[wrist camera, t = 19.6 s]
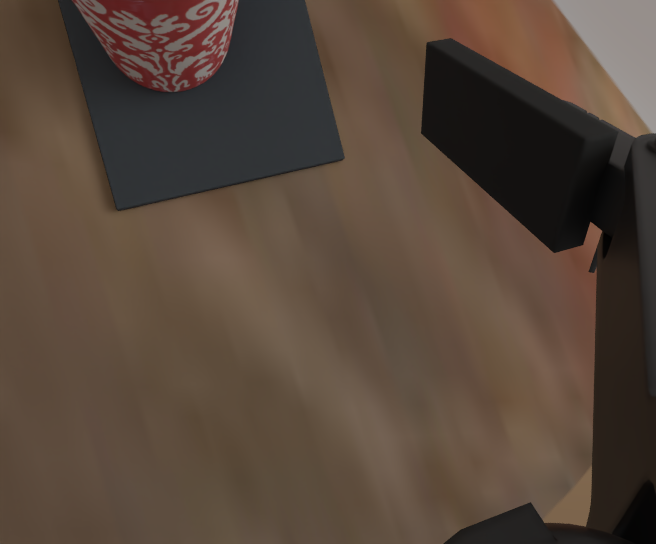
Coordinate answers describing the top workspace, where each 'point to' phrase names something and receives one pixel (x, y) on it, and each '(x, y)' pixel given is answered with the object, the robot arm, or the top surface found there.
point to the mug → (163, 38)
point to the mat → (212, 110)
